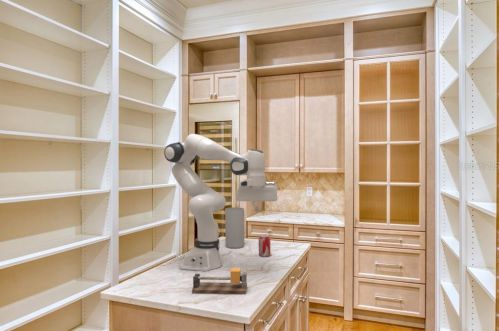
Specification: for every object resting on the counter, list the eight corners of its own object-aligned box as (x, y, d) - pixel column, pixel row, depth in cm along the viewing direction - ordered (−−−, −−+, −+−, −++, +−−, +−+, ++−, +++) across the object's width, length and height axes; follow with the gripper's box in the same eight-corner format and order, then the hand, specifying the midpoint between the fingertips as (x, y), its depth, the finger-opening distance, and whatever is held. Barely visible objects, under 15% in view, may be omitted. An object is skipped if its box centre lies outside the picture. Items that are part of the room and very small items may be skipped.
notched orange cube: (230, 282, 142) (230, 271, 142) (231, 279, 146) (231, 268, 146) (239, 283, 141) (239, 271, 141) (240, 279, 146) (240, 268, 146)
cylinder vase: (221, 246, 217) (221, 209, 217) (233, 243, 227) (233, 206, 227) (236, 249, 209) (235, 210, 209) (248, 245, 219) (247, 208, 219)
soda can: (256, 255, 196) (256, 235, 196) (264, 253, 201) (264, 233, 201) (264, 258, 191) (264, 237, 191) (272, 255, 196) (272, 235, 196)
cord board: (192, 293, 140) (191, 275, 140) (196, 285, 149) (196, 269, 149) (245, 294, 139) (245, 276, 139) (247, 286, 148) (247, 269, 148)
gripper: (277, 181, 164) (278, 209, 164) (237, 182, 166) (237, 209, 166) (277, 182, 158) (278, 211, 158) (235, 182, 159) (235, 211, 160)
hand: (257, 210), depth 162 cm, fingers closed
